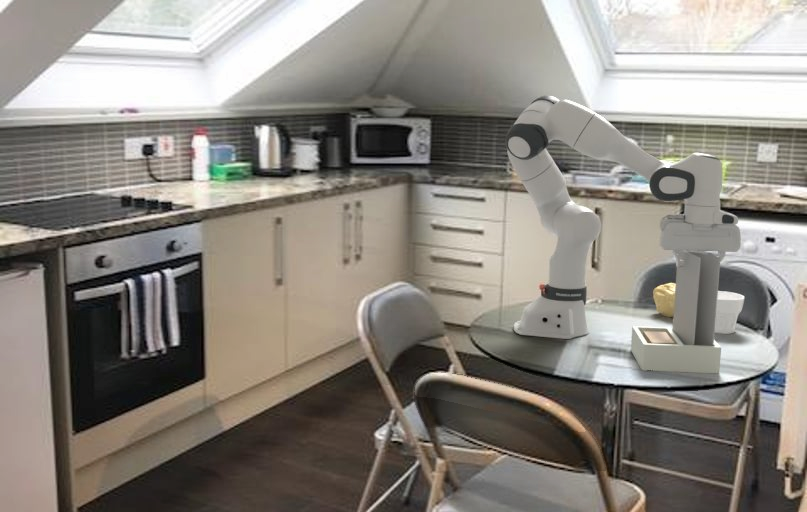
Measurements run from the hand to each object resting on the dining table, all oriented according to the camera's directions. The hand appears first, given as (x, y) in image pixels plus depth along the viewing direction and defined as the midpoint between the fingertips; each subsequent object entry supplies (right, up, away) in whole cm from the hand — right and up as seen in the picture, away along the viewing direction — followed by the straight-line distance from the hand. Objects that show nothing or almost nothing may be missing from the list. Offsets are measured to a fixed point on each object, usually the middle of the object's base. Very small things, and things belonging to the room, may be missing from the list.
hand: (697, 267), depth 229 cm
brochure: (0, -26, +5) cm, 26 cm away
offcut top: (-9, -22, +5) cm, 25 cm away
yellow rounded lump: (+10, -17, +55) cm, 59 cm away
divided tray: (-5, -26, +5) cm, 27 cm away
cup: (+20, -20, +38) cm, 47 cm away
